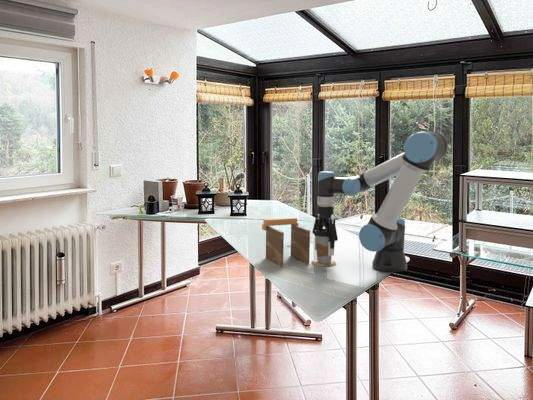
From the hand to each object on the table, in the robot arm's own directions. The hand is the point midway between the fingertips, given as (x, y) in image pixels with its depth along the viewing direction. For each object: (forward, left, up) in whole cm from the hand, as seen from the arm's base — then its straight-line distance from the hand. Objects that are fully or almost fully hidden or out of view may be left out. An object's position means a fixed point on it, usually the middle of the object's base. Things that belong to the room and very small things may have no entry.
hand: (324, 252), depth 231 cm
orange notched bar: (+14, -18, +9) cm, 24 cm away
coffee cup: (0, 0, -5) cm, 5 cm away
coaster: (0, 0, -5) cm, 5 cm away
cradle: (+14, -10, -5) cm, 18 cm away
